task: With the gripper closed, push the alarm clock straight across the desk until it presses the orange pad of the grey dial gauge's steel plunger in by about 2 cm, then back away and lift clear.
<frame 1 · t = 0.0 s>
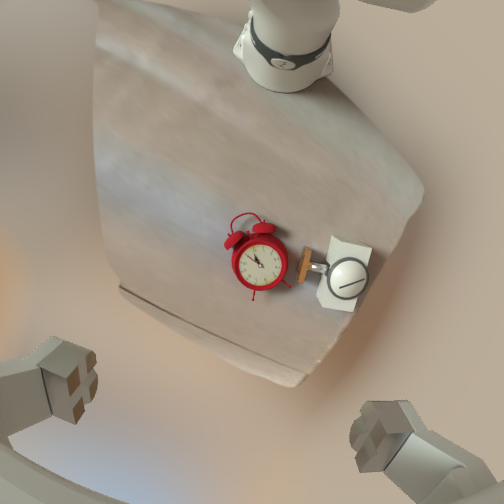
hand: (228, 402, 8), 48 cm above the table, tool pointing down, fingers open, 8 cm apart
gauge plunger: (318, 267, 54), point 2 cm above the table, slide at 0.0 cm
alarm clock: (256, 251, 57), on the table
dial gauge: (338, 268, 57), on the table
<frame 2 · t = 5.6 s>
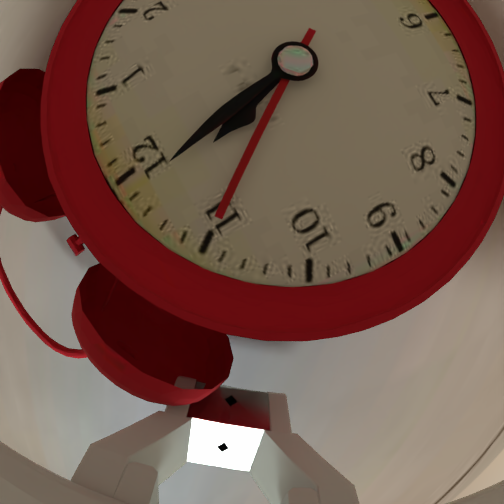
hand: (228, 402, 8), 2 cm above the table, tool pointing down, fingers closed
alarm clock: (228, 145, 8), on the table, touching gripper
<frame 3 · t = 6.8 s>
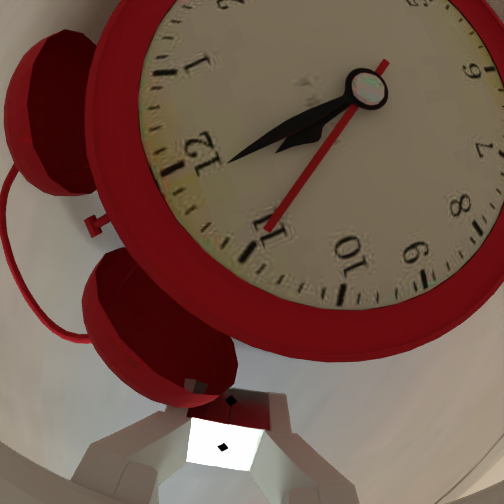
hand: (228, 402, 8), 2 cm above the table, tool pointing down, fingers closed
alarm clock: (264, 150, 8), on the table, touching gripper
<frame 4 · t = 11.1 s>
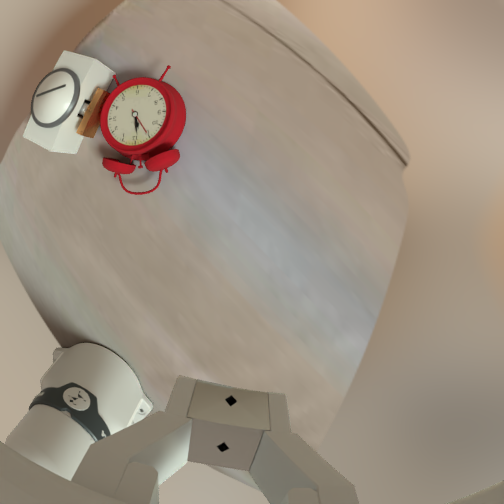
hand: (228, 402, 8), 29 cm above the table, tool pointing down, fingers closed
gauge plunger: (80, 107, 30), point 2 cm above the table, slide at 2.8 cm
alarm clock: (146, 133, 34), on the table
dial gauge: (79, 106, 32), on the table
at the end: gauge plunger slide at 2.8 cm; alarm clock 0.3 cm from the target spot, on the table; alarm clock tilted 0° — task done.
